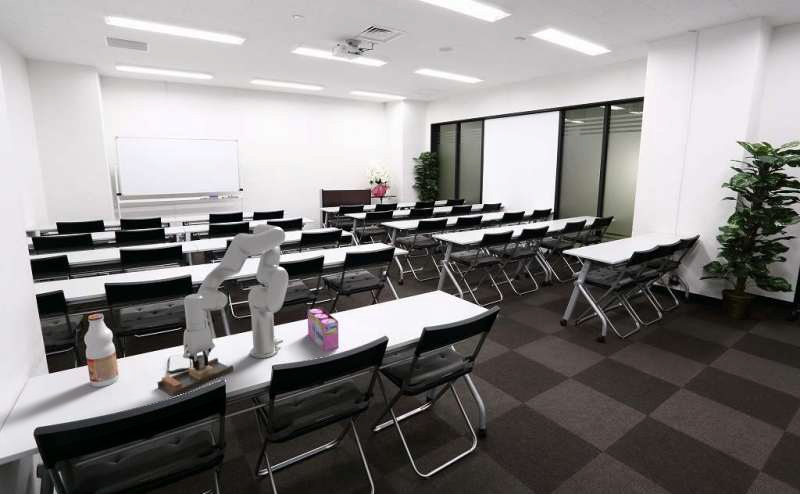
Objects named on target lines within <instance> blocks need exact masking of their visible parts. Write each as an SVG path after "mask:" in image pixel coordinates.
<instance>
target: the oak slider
mask: <svg viewBox="0 0 800 494" xmlns="http://www.w3.org/2000/svg"><path fill="white" fill-rule="evenodd" d="M197 360H198V361H199V370H197V369H195V368H193V365H191V367H190V368H189V375H191V376H193V377H195V378H196V379H198V380H199V379H201V378H203V377H206V376H208V375H210V374H212V373H214V368H213V367H211V366H209V365H208V366H205V361H204V355H203V354H200V355H199V354H197Z"/></svg>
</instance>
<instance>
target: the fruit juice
mask: <svg viewBox="0 0 800 494" xmlns="http://www.w3.org/2000/svg"><path fill="white" fill-rule="evenodd" d="M87 320H88V322H89V326H88V329H87V332H86V333H85V335H84V339H83V341H84V344H85V345H86V349H85V356H86V364H87V369H88V376H89V383H90V385H91V386H92V387H94V388H95V387H96V388H102V387H107V386H109V385H113V384H114V383H115V382H117V381H118V380H119V378H120V375H119V368H118V367H119V366H118V360H117V354H116V353H117V352H116V347H115V344H114V342H113V338H114V334H113V331H112V330H111V329H110V328H108V326H106V323H105V322H104V314H103V313H94V314H92V315H88V317H87Z"/></svg>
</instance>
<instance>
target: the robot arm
mask: <svg viewBox="0 0 800 494" xmlns="http://www.w3.org/2000/svg"><path fill="white" fill-rule="evenodd" d="M252 233H253V234H249V233H243V232H242V233H238V234H236V235H235V236H234V238H233V239H232V240H231V243H230V245H229V246H228V248H227V250H226V252H225V254H224V256H223V257H222V259H221V260H220V263H219V264H218V265H216V267H214V268H213V270H210V272H209V273H208V274H207V275H206V276H205V278H204V279H203V281H202V283H201V284H200V287H199V289H198V291H197V292H196V293H192V294H189V295H187V296H185V298H184V300H183V305H184V306H183V307H184V313H185V314H184V315H185V324H186V329H184V332H183V351H184V352H183V353H182V354H183V358H187V359H191V364H192V366H193V368H195V369H197V370H199V361H198V360H197V356H198V354H199V353H201V352H202V355H204V361H205V366H208V361H209V356H210V353H211V352H212V350H213V349H214V348H215V347H216V344H215V343H214V342H213V336H212V330H211V328H210V326H209V324H208V322H211V318H208V315H207V314H208V313H207V312H209V311H210V312H212V311H219V310H221V309H223V308H225V307H226V306H227V304H228V296H227V295H226V294H225V293H224V292H222V291H219V290H218V289H219V288H220V285H222V283H223V282H224V281H225V280H227V279H228V278H230V277H232V276H235V275H238V274H239V273H240V272H241V270H242V268H243V267H244V265H245V263H246V260H247V259H248V257H249V256H252V257H254V256H259V255H260V257H259V263H258V265H257V266H258V267H257V271H256V280H257V282H259V283H261V284H263V285H266V286H267V287H265V286H261V285H260V286H255V287H253V288H252V289H250V291H249V293H248V296H247V300H248V306H249V309H250V317H251V330H252V331H251V332H252V333H251V334H252V344H253V345H252V346H253V348H251V349H250V352H249V354H250V356H251V357H252V358H257V359H266V357H267V358H270V356H271V357H273V356H275V355H277V354H278V353H279V347H278V345H279V344H282V343H283V342H284V339H283V338H280V339H277V338H275V323H274V320H275V319H274V313H277V312H278V311H280V309H281V308H282V307H283V304H284V302H285V297H286V293H287V288H288V284H289V274H288V272H287V269H285V268H284V267H282V266H280V261H281V247H280V246H281V245H282V244H283V243H284V241H285V239H286V233H285V231H284V229H282V228H281V227H279V226H276V225H270V224H266V223H260V224H257V225H255V227H253V232H252ZM276 353H277V354H276ZM188 354H190V355H188Z"/></svg>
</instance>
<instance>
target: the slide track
mask: <svg viewBox="0 0 800 494" xmlns="http://www.w3.org/2000/svg"><path fill="white" fill-rule="evenodd" d="M208 365H209V366H211V367H213V368H214V373H212V374H210V375H208V376H206V377H203V378H201V379H199V380H198V379H196V378H195V377H193V376H191V375H189V369H188V370H186V371H183V372H179V373H175V374H174V375H171V376H170V375H166V376H163V377H161V380H159V381H157V389H159V390H161V391H162V392H164V393H165V394H167V395H169V396H170V397H172V398H173V397H174V396H177V395H180V394H182V395H184V394H186V393H188V392H191V391H192V390H195V389H197V388H199V387H202V386H204V385H206V384H208V383H210V382H213V381H215V380H217V379H219V378H221V376H222V377H224V376H226V375H228V374H231V373H232V372H234V366H233V365H229V366H228V365H225V364H224V363H222V362H220V361H219V358H218V357H216V358H213V359H211V360H208ZM216 378H217V379H216ZM214 379H215V380H214ZM183 393H184V394H183ZM180 396H181V395H180ZM177 397H178V396H177Z"/></svg>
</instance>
